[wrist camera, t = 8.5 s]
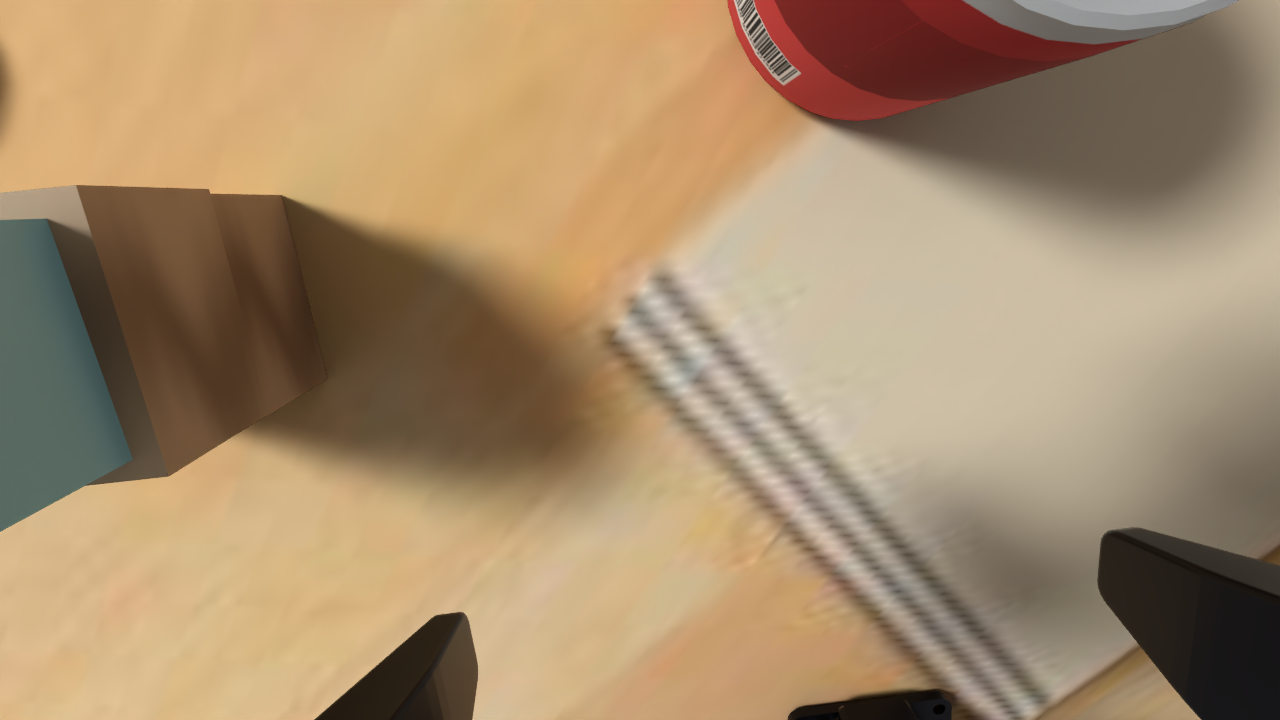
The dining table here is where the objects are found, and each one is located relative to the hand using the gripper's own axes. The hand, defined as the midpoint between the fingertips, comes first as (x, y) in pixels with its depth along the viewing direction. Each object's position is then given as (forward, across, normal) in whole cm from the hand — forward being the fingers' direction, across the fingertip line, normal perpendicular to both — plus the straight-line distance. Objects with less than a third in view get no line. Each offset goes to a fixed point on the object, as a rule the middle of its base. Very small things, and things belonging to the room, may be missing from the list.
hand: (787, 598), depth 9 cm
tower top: (+9, +15, -4) cm, 18 cm away
